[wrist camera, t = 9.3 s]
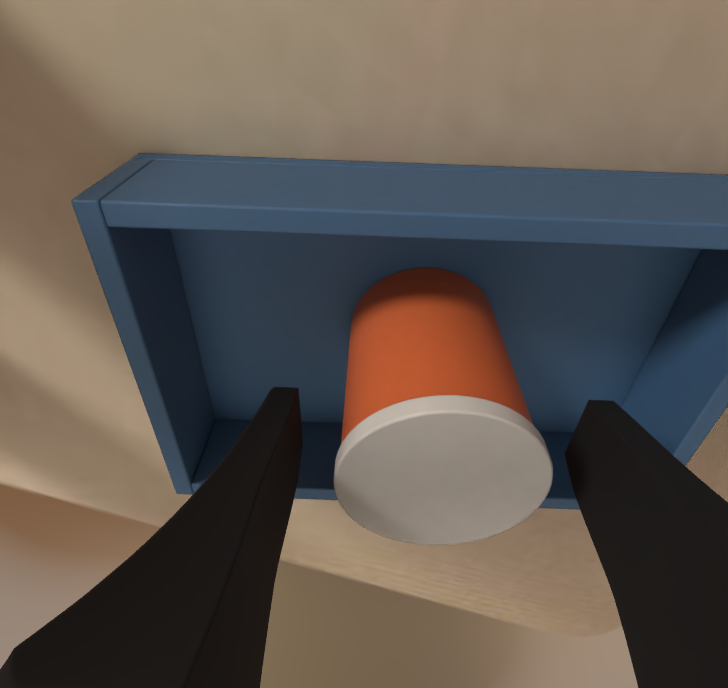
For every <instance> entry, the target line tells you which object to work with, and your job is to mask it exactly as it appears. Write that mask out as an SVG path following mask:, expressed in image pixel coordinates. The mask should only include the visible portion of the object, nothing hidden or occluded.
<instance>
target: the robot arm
mask: <svg viewBox="0 0 728 688" xmlns="http://www.w3.org/2000/svg"><path fill="white" fill-rule="evenodd" d="M302 446H303V438H302V425H301V412H300V400H299V388H292V387H273V388H272V389H271V390H270V391H269V393H268V395H267V396H266V398H265V400H264V401H263V403H262V405H261V406H260V408H259V409H258V411H257V412H256V414H255V416H254V417H253V418H252V420H251V421H250V423H249V424H248V426H247V427H246V429H245V430H244V432H243V433H242V434H241V436H240V437H239V438H238V440H237V441H236V442H235V444H234V445H233V447H232V448H231V449H230V451H229V452H228V453H227V455H226V456H225V457H224V458H223V460H222V461H221V462H220V463H219V465H218V466H217V467H216V468H215V469H214V471H213V472H212V473H211V474H210V475H209V477H208V478H207V479H206V480H205V482H204V483H203V484H202V485H201V486H200V487H199V488H198V490H197V491H196V492H195V493H194V494H193V495H192V496H191V497H190V499H189V500H188V501H187V502H186V503H185V504H184V505H183V506H182V507H181V508H180V509H179V510H178V511H177V512H176V513H175V514H174V515H173V516H172V517H171V518H170V519H169V521H167V522H166V523H165V524H164V525H163V526H162V527H161V528H160V529H159V530H158V531H157V532H156V533H155V534H154V535H153V536H152V537H151V538H150V539H149V540H148V541H147V542H146V543H145V544H144V545H143V546H141V547H140V548H139V549H138V550H137V551H136V552H135V553H134V554H133V555H132V556H130V557H129V558H128V559H127V560H126V561H125V562H124V563H122V564H121V565H120V566H119V567H118V568H116V569H115V570H114V571H113V572H112V573H110V574H109V575H108V576H107V577H106V578H105V579H103V580H102V581H101V582H100V583H99V584H97V585H96V586H95V587H94V588H93V589H91V590H90V591H89V592H88V593H87V594H85V595H84V596H83V597H82V598H80V599H79V600H78V601H77V602H75V603H74V604H73V605H71V606H70V607H69V608H67V609H66V610H65V611H63V612H62V613H61V614H59V615H58V616H57V617H55V618H54V619H53V620H51V621H50V622H49V623H47V624H46V625H45V626H44V627H42V628H41V629H39V630H38V631H37V632H36V633H34V634H33V635H31V636H30V637H29V638H27V639H26V640H25V641H23V642H22V643H21V644H19V645H18V646H17V647H15V648H14V650H13V651H12V653H11V654H10V656H9V658H8V659H7V661H6V662H5V664H4V665H3V666H2V668H1V669H0V688H260V681H261V674H262V666H263V659H264V652H265V644H266V637H267V629H268V622H269V616H270V609H271V602H272V595H273V589H274V582H275V577H276V572H277V567H278V563H279V559H280V554H281V550H282V546H283V542H284V538H285V534H286V529H287V525H288V521H289V517H290V513H291V509H292V504H293V500H294V496H295V492H296V487H297V483H298V477H299V470H300V462H301V454H302ZM564 454H565V458H566V463H567V467H568V472H569V476H570V480H571V484H572V487H573V491H574V494H575V497H576V500H577V502H578V505H579V507H580V510H581V513H582V515H583V518H584V520H585V523H586V526H587V528H588V531H589V533H590V536H591V538H592V541H593V543H594V546H595V548H596V551H597V553H598V556H599V558H600V561H601V564H602V566H603V569H604V571H605V574H606V576H607V579H608V582H609V584H610V587H611V590H612V593H613V596H614V599H615V602H616V606H617V609H618V613H619V616H620V620H621V623H622V627H623V630H624V634H625V637H626V641H627V645H628V649H629V652H630V656H631V660H632V664H633V668H634V672H635V676H636V679H637V684H638V688H728V502H726V501H725V500H724V499H723V498H722V497H720V496H719V495H718V494H717V493H716V492H714V491H713V490H712V489H711V488H710V487H708V486H707V485H706V484H705V483H704V482H703V481H701V480H700V479H699V478H698V477H697V476H696V475H694V474H693V473H692V472H691V471H690V470H689V469H688V468H687V467H685V466H684V465H683V464H682V463H681V462H680V461H679V460H678V459H677V458H675V457H674V456H673V455H672V454H671V453H670V452H669V451H668V450H667V449H666V448H664V447H663V446H662V445H661V444H660V443H659V442H658V441H657V440H656V439H655V438H654V437H653V436H652V435H650V434H649V433H648V432H647V431H646V430H645V429H644V428H643V427H642V426H641V425H640V424H639V423H638V422H637V421H635V420H634V419H633V418H632V417H631V416H630V415H629V414H628V413H627V412H626V411H625V410H623V409H622V408H621V407H620V406H619V405H618V404H617V403H615V402H614V401H608V400H588V402H587V404H586V407H585V409H584V411H583V413H582V416H581V418H580V420H579V422H578V424H577V427H576V429H575V431H574V433H573V436H572V438H571V440H570V442H569V445H568V447H567V449H566V451H565V453H564Z"/></svg>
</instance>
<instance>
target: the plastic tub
mask: <svg viewBox="0 0 728 688" xmlns="http://www.w3.org/2000/svg"><path fill="white" fill-rule="evenodd" d="M552 479H553V464H552V461H551V458H550V455H549V452H548V449H547V447H546V444H545V441H544V439H543V437H542V436H541V434H540V432H539V431H538V430H537V429H536V428H535V426H534V425H533V422H532V419H531V416H530V414H529V411H528V408H527V405H526V402H525V400H524V397H523V394H522V391H521V388H520V386H519V383H518V380H517V377H516V374H515V372H514V369H513V366H512V363H511V360H510V358H509V355H508V352H507V349H506V346H505V343H504V341H503V338H502V335H501V332H500V329H499V327H498V324H497V321H496V318H495V315H494V313H493V310H492V307H491V304H490V302H489V300H488V299H487V297H486V295H485V294H484V293H483V291H482V290H481V289H480V288H479V287H478V286H477V285H476V284H474V283H473V282H472V281H470V280H469V279H467V278H465V277H463V276H462V275H460V274H457V273H454V272H451V271H448V270H444V269H438V268H415V269H409V270H405V271H401V272H398V273H395V274H393V275H390V276H388V277H386V278H384V279H383V280H381V281H379V282H378V283H377V284H375V285H374V286H373V287H372V288H370V289H369V290H368V291H367V292H366V293H365V295H364V296H363V297H362V298H361V300H360V301H359V303H358V304H357V306H356V308H355V311H354V313H353V317H352V320H351V330H350V342H349V354H348V366H347V378H346V390H345V403H344V415H343V427H342V439H341V446H340V448H339V450H338V453H337V456H336V459H335V470H334V481H333V482H334V490H335V493H336V496H337V499H338V501H339V503H340V505H341V506H342V508H343V509H344V510H345V512H346V513H347V514H348V515H349V516H350V517H351V518H352V519H353V520H354V521H356V522H357V523H358V524H360V525H361V526H363V527H364V528H366V529H368V530H370V531H372V532H374V533H376V534H379V535H381V536H384V537H387V538H390V539H393V540H398V541H402V542H407V543H414V544H424V545H448V544H459V543H466V542H471V541H476V540H480V539H484V538H487V537H491V536H493V535H496V534H499V533H501V532H503V531H506V530H508V529H510V528H512V527H514V526H515V525H517V524H519V523H520V522H522V521H523V520H525V519H526V518H527V517H529V516H530V515H531V514H532V513H533V512H534V511H536V510H537V509H538V508H539V506H540V505H541V504H542V503H543V501H544V500H545V498H546V496H547V495H548V493H549V491H550V488H551V485H552Z"/></svg>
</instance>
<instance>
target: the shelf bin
mask: <svg viewBox="0 0 728 688" xmlns="http://www.w3.org/2000/svg"><path fill="white" fill-rule="evenodd" d="M72 205H73V208H74V211H75V214H76V216H77V219H78V222H79V225H80V227H81V230H82V233H83V236H84V238H85V241H86V244H87V247H88V249H89V252H90V255H91V258H92V261H93V263H94V266H95V269H96V272H97V274H98V277H99V280H100V283H101V285H102V288H103V291H104V294H105V297H106V299H107V302H108V305H109V308H110V310H111V313H112V316H113V319H114V321H115V324H116V327H117V330H118V333H119V335H120V338H121V341H122V344H123V346H124V349H125V352H126V355H127V357H128V360H129V363H130V366H131V369H132V371H133V374H134V377H135V380H136V382H137V385H138V388H139V391H140V393H141V396H142V399H143V402H144V405H145V407H146V410H147V413H148V416H149V418H150V421H151V424H152V427H153V429H154V432H155V435H156V438H157V440H158V443H159V446H160V449H161V452H162V454H163V457H164V460H165V463H166V465H167V468H168V471H169V474H170V476H171V479H172V482H173V485H174V488H175V490H176V493H177V494H193V493H195V492H196V491H197V490H198V488H199V487H200V486H201V485H202V484H203V483H204V482H205V480H206V479H207V478H208V477H209V475H210V474H211V473H212V472H213V471H214V469H215V468H216V467H217V466H218V465H219V463H220V462H221V461H222V460H223V458H224V457H225V456H226V455H227V453H228V452H229V451H230V449H231V448H232V447H233V445H234V444H235V442H236V441H237V440H238V438H239V437H240V436H241V434H242V433H243V432H244V430H245V429H246V427H247V426H248V424H249V423H250V421H251V420H252V418H253V417H254V416H255V414H256V412H257V411H258V409H259V408H260V406H261V405H262V403H263V401H264V400H265V398H266V396H267V395H268V393H269V391H270V390H271V389H272V388H273V387H292V388H299V400H300V412H301V425H302V438H303V446H302V454H301V462H300V470H299V477H298V483H297V487H296V492H295V496H294V498H297V499H323V500H338V499H337V496H336V493H335V490H334V482H333V481H334V470H335V459H336V456H337V453H338V450H339V448H340V446H341V439H342V427H343V415H344V403H345V390H346V378H347V366H348V354H349V342H350V330H351V320H352V317H353V313H354V311H355V308H356V306H357V304H358V303H359V301H360V300H361V298H362V297H363V296H364V295H365V293H366V292H367V291H368V290H369V289H370V288H372V287H373V286H374V285H375V284H377V283H378V282H379V281H381V280H383V279H384V278H386V277H388V276H390V275H393V274H395V273H398V272H401V271H405V270H409V269H415V268H438V269H444V270H448V271H451V272H454V273H457V274H460V275H462V276H463V277H465V278H467V279H469V280H470V281H472V282H473V283H474V284H476V285H477V286H478V287H479V288H480V289H481V290H482V291H483V293H484V294H485V295H486V297H487V299H488V300H489V302H490V304H491V307H492V310H493V313H494V315H495V318H496V321H497V324H498V327H499V329H500V332H501V335H502V338H503V341H504V343H505V346H506V349H507V352H508V355H509V358H510V360H511V363H512V366H513V369H514V372H515V374H516V377H517V380H518V383H519V386H520V388H521V391H522V394H523V397H524V400H525V402H526V405H527V408H528V411H529V414H530V416H531V419H532V422H533V425H534V426H535V428H536V429H537V430H538V431H539V432H540V434H541V436H542V437H543V439H544V441H545V444H546V447H547V449H548V452H549V455H550V458H551V461H552V464H553V479H552V485H551V488H550V491H549V493H548V495H547V496H546V498H545V500H544V501H543V503H542V504H541V505H540V506H539V508H554V509H579V510H580V507H579V505H578V502H577V500H576V497H575V494H574V491H573V487H572V484H571V480H570V476H569V472H568V467H567V463H566V458H565V454H564V453H565V451H566V449H567V447H568V445H569V442H570V440H571V438H572V436H573V433H574V431H575V429H576V427H577V424H578V422H579V420H580V418H581V416H582V413H583V411H584V409H585V407H586V404H587V402H588V400H608V401H614V402H615V403H617V404H618V405H619V406H620V407H621V408H622V409H623V410H625V411H626V412H627V413H628V414H629V415H630V416H631V417H632V418H633V419H634V420H635V421H637V422H638V423H639V424H640V425H641V426H642V427H643V428H644V429H645V430H646V431H647V432H648V433H649V434H650V435H652V436H653V437H654V438H655V439H656V440H657V441H658V442H659V443H660V444H661V445H662V446H663V447H664V448H666V449H667V450H668V451H669V452H670V453H671V454H672V455H673V456H674V457H675V458H677V459H678V460H679V461H680V462H681V463H682V464H683V465H684V466H686V464H687V463H688V461H689V460H690V459H691V457H692V456H693V454H694V453H695V452H696V450H697V449H698V447H699V446H700V444H701V443H702V442H703V440H704V439H705V437H706V436H707V435H708V433H709V432H710V430H711V429H712V428H713V426H714V425H715V423H716V422H717V420H718V419H719V418H720V416H721V415H722V413H723V412H724V411H725V409H726V408H727V406H728V175H716V174H689V173H662V172H635V171H608V170H581V169H554V168H528V167H501V166H474V165H447V164H420V163H393V162H366V161H339V160H313V159H286V158H259V157H232V156H205V155H178V154H151V153H139V154H137V155H136V156H134V157H133V158H132V159H131V160H129V161H128V162H126V163H125V164H123V165H122V166H120V167H119V168H117V169H116V170H114V171H113V172H111V173H110V174H109V175H107V176H106V177H104V178H103V179H101V180H100V181H98V182H97V183H95V184H94V185H92V186H91V187H89V188H88V189H87V190H85V191H84V192H82V193H81V194H79V195H78V196H76V197H75V198H73V199H72Z"/></svg>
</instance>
